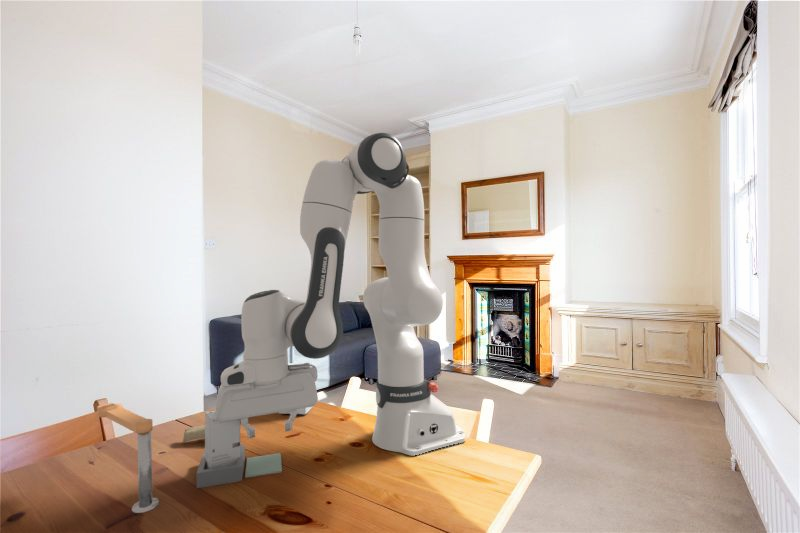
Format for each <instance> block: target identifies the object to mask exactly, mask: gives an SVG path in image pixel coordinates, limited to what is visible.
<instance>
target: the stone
mask: <svg viewBox="0 0 800 533" xmlns="http://www.w3.org/2000/svg"><path fill="white" fill-rule="evenodd" d="M197 439H199V440H200V439H205V424H202V425H198V426H192V427H188V428H185V429H184V433H183V438H182V443H185V442H188V441H193V440H197Z"/></svg>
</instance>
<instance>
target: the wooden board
mask: <svg viewBox="0 0 800 533" xmlns="http://www.w3.org/2000/svg"><path fill="white" fill-rule="evenodd" d="M123 406H124V405H123V404H122V403H114V402H109V403H106V404H101V405H97V406H96V413H97V418H107V419H108V420H110V421H112V422H114V423H116V424H118V425H119V426H120V425H121V426H122V427H124V428H126V429H128V430H129V431H132V432H133V433H135V434H137V435H138V434H142V433H147V432H150V431H151V432H152V431H153V419H152V418H145V417H143V416H141V415H139V414H137V413H134V412H132V411H130V410H129V409H126V408H124V407H123Z"/></svg>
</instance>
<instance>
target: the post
mask: <svg viewBox="0 0 800 533" xmlns="http://www.w3.org/2000/svg"><path fill="white" fill-rule="evenodd" d="M152 459H153V458H152V430H151V431H150V432H147V433H142V434H138V433H137V471H138V472H137V473H138V474H137V475H138V476H137V477H138V478H137V479H138V484H137V485H138V486H137V487H138V489H137V490H138V501H137V502H135V503H134V504H133V505H132V507H131V512H132V513H135V514H141V513H142V514H143V513H146V512H149V511H152V510H154V509H155V508H156V507H157V506H158V505H159V503H160V500H159V498H157V497H153V471H152V470H153V464H152V463H153V462H152V461H153V460H152Z"/></svg>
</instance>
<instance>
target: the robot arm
mask: <svg viewBox="0 0 800 533" xmlns="http://www.w3.org/2000/svg"><path fill="white" fill-rule="evenodd" d="M409 171H410V166H409V164H408V161H407V157H406V153H405V150H404V148H403V146H402V144H401V142H400V140H398V139H397V137H395V136H394V135H392V134H390V133H388V132H387V133H385V132H375V133H372V134H370V135H367V136H366V137H365V138H364V139H363V140H361V141H360V142H358V143H357V144H356V145H355V146H353V147H352V149H351V150H350V152H348V154H347V155H346V156H345V157H344V158H343V159H342V160H341V161H340V160H337V159H333V158H332V159H331V158H330V159H323V160H320V161H319V162H317V163H316V164H315V165H314V166H313V168H312V170H311V173H310V175H309V177H308V181H307V184H306V187H305V190H304V193H303V194H304V195H303V198H302V199H303V200H302V205H301V209H300V210H301V211H300V214H299V215H300V216H299V234H300V236H301V238H302V240H303V242H304V243H305V244H306V246H307V248H308V251H309V253H310V261H311V262H310V271H309V272H310V273H309V278H308V279H309V281H308V287H307V293H306V300H305V301H303V300H300V299H297V298H293V297H291V296H289V295H287V294H285V293H283V292H281V291H280V290H279V289H269V290H265V291H260V292H257V293H253V294H251V295H249V296H248V297H246V298H245V300H244V301H243V304H242V308H241V319H240V320H241V324H240V325H241V337H242V338H241V339H242V341H243V344H244V350H243V355H242V358H243V359H242V360H243V361H241V362H238V363H236V364H234V365H231V366H229V367H227V368H225V369H224V370H223V371H222V372H221V375H220V383H221V384H220V386H219V388H218V391H217V395H216V403H215V410H216V418H217V419H218V420H219V421H220V422H225V421H231V420H237V419H240V426H242V427H243V429H244V430H245V431H246V435H247V439H253V438H256V427H255V426H254V425H253V426H251V425H250V424H249V418H252V417H253V418H254V417H258V416H264V415H271V414H272V415H273V414H277V413H278V414H279V412H283V411H289V410H290V414H289V418H288V419H287V420H284V432H289V431H290V432H291V431H293V423H294V421H295V419H296V417H297V415H298V414H297V409H301V408H307V407H312V408H313V407H316V405H317V403H318V401H319V399H318V398H319V397H318V391H317V386H316V381H317V380H318V369H317V367H316V366H315V365H314V364H313V363H310V362H304V363H302V364H295V365H288V363H289V356H288V355H289V354H288V349H289V348H291V347H294V349H295V350H296V351H297V352H298V353H299V354H300V355H301V356H303V357H305V358H308V359H314V360H315V359H316V360H317V359H322V358H325V357H328V356H330V355H331V354H332V353H333V352H334V351H336V350H337V348H338V347H339V346H340V344H341V342H342V339H343V335H344V325H343V320H342V316H341V312H340V296H341V288H342V286H341V285H342V277H343V269H344V258H345V249H346V244H347V239H348V233H349V229H350V226H351V225H350V224H351V219H352V212H353V207H354V200H355V198H356V195H364V194H369V193H372V192H374V193H375V195H376V197H377V200H378V201H377V202H378V205H379V212H378V213H379V214H378V243H377V244H378V245H377V246H378V254H379V255H380V257H381V259H382V260H383V263H384V265H385V268H386V269H385V270H386V273H387V277H381V278H378V279H375V280H373V281H372V282H370V283H369V284H368V285H366V287H365V289H364V292H363V296H362V297H363V298H362V301H363V305H364V308H365V309H366V311H367V312H368V314H369V318H370V321H371V326H372V329H373V334H374V339H375V343H376V349H377V350H376V351H377V370H378V371H377V380H376V387H375V401H376V402H375V403H376V405H377V410H376V418H375V425H374V430H373V433H372V437H371V440H372V443H373V444H374V445H375V446H376V447H378V448H380V449H383V450H386V451H389V452H390V451H391V452H396V453H400V454H401V453H402V454H405V455H408V456H412V457H415V455H417V456H419V454H420V455H423V454H422V453H424V454H426V453H425V452H427V453H429V452H428V451H431V450H434V449H438V448H441V447H445V446H448V447H450V446H449V445H452V446H453V444H455V445H459V444H461V443H464V441H466V433H465V432H464V429H463V428H462V427H460V425H458V424H457V423H456V420H455V415H454V413H453V410H451V409H450V407H449V406H448V405H447V404H445V403H444V402H442V401H441V400H440V399H439V398H438V397H436V396H434V395H433V394H432V393H434V394H435V393H437V392H438V391H439V385H438V384H436V383H435V382H431V381H430V380H428V379H426V378H425V376H424V375H425V372H424V371H425V370H424V368H425V367H424V361H425V360H424V349H423V348H424V347H423V345H422V343H421V342H420V340H419V339H418V336H417V334H416V331H415V328H414V327H422V326H427V325H431V324H432V323H434V322H435V321H436V320H437V319H438V318H439V316H440V315H441V313H442V310H443V304H444V303H443V302H444V301H443V295H442V293H441V291H440V289H439V287H437V285H436V284H435V283H434V281H433V279H432V277H431V274H430V271H429V267H428V264H427V260H426V253H425V204H424V203H425V202H424V201H425V200H424V193H423V188H422V184H421V182H420V181H419V179H417V177H415V176H413V175H411V174H409ZM310 366H312V367H310ZM301 368H302V369H301ZM288 370H289V371H288ZM458 443H459V444H458ZM445 448H446V447H445ZM441 449H442V448H441ZM438 450H439V449H438ZM434 451H435V450H434ZM431 452H432V451H431Z"/></svg>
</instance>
